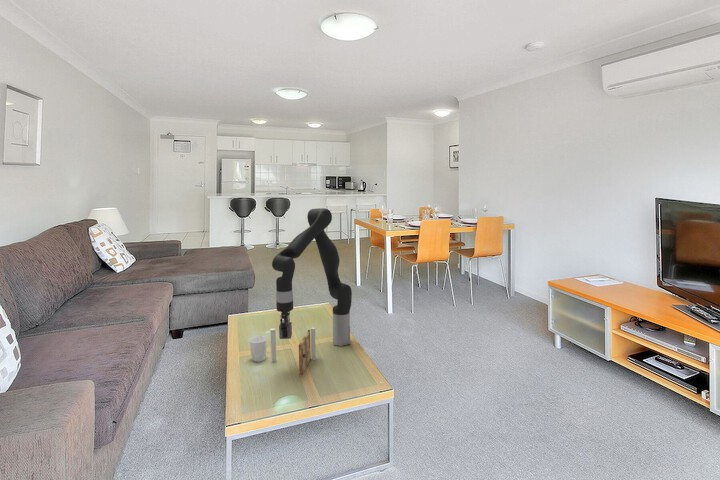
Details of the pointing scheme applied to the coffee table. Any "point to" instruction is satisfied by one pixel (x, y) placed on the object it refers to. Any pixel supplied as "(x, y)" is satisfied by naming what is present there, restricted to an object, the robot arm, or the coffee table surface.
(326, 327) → the coffee table surface
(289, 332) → the grey cube-like block
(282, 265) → the robot arm
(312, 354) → the door frame
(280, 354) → the coffee table surface
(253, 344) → the white cup
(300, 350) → the door
